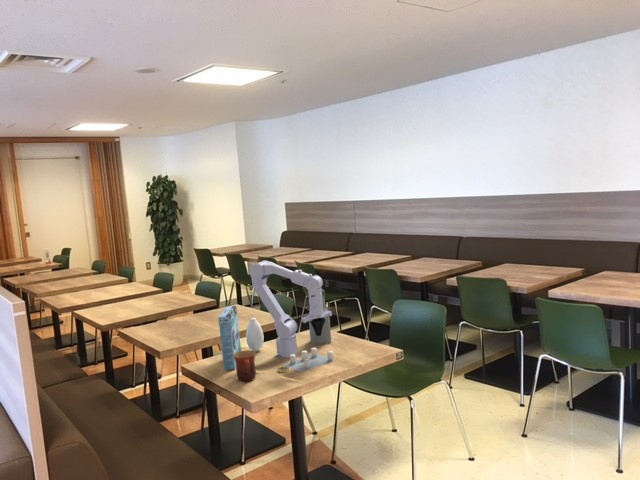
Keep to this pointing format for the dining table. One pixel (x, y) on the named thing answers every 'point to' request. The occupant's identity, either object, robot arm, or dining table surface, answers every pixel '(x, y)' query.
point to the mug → (245, 365)
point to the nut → (283, 369)
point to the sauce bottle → (254, 335)
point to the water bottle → (326, 331)
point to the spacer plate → (312, 363)
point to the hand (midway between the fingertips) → (318, 335)
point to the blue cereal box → (229, 336)
